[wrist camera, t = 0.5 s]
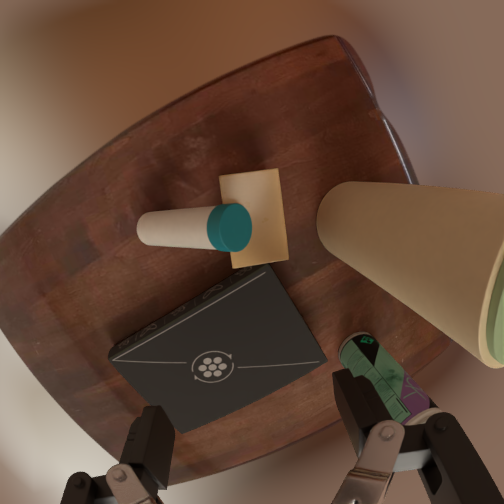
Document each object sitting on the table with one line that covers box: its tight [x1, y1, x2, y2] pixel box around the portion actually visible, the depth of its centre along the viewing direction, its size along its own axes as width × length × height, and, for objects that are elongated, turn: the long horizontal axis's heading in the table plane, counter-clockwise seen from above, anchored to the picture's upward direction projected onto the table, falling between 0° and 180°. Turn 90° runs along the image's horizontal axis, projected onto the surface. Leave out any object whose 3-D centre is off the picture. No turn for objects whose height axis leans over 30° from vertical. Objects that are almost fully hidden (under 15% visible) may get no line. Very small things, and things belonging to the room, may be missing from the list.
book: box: [108, 263, 328, 434], centre depth 34 cm, size 22×15×3 cm
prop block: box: [219, 168, 289, 268], centre depth 29 cm, size 5×8×6 cm, turn 8°
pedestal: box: [316, 181, 504, 368], centre depth 22 cm, size 9×9×24 cm
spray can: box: [338, 332, 442, 425], centre depth 28 cm, size 6×6×20 cm
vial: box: [137, 203, 252, 252], centre depth 26 cm, size 11×4×11 cm, turn 98°
